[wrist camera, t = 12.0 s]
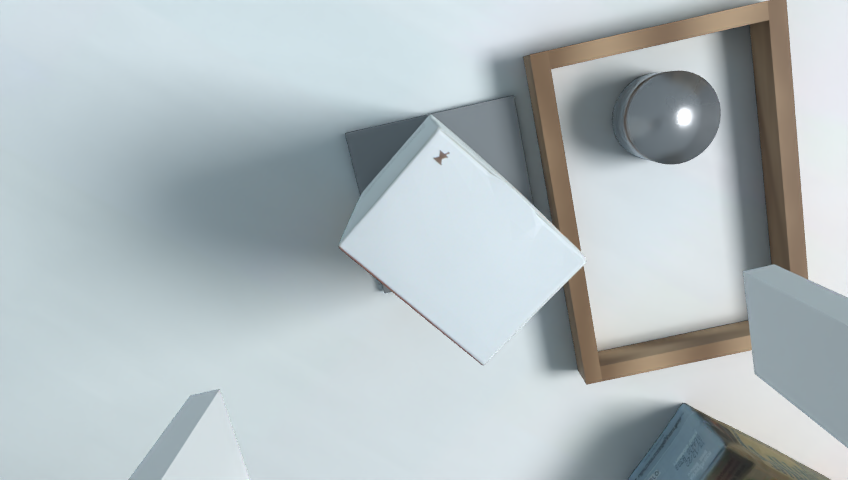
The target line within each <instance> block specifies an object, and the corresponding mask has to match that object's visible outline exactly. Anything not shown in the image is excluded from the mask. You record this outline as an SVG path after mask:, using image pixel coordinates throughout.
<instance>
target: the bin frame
mask: <svg viewBox="0 0 848 480" xmlns="http://www.w3.org/2000/svg"><path fill="white" fill-rule="evenodd" d="M749 24H750V35H751V46H752V57H753V68H754V79H755V89H756V100H757V111H758V122H759V133H760V144H761V155H762V166H763V177H764V188H765V198H766V209H767V220H768V231H769V242H770V253H771V264H772V265H773V264H775V265H777V266H779V267H781V268H784V269H786V270H788V271H790V272H792V273H795V274H797V275H799V276H801V277H803V278H805V279H808V271H807V258H806V246H805V233H804V220H803V207H802V194H801V181H800V168H799V156H798V143H797V130H796V117H795V104H794V91H793V79H792V66H791V53H790V40H789V27H788V14H787V2H786V0H769V1H764V2H760V3H755V4H751V5H747V6H742V7H738V8H733V9H729V10H725V11H720V12H716V13H711V14H707V15H702V16H698V17H694V18H689V19H685V20H680V21H676V22H672V23H667V24H663V25H658V26H654V27H650V28H645V29H641V30H636V31H632V32H627V33H623V34H619V35H614V36H610V37H605V38H601V39H597V40H592V41H588V42H583V43H579V44H575V45H570V46H566V47H561V48H557V49H552V50H548V51H544V52H539V53H535V54H530V55H527V56H524V57H523V58H524V64H525V70H526V75H527V81H528V87H529V93H530V98H531V104H532V110H533V115H534V121H535V127H536V133H537V138H538V144H539V150H540V155H541V161H542V167H543V173H544V178H545V184H546V190H547V196H548V201H549V207H550V213H551V218H552V224H553V225H554V226H555V227H556V228H557V229H558V230H559V231H560V232H561V233H562V234H563V235H564V236H565V237H566V238H567V239H568V240H569V241H570V242H571V243H572V244H574V245H575V246H576V247H577V248H578V249H579V250H580V251H581V248H580V242H579V236H578V230H577V224H576V218H575V212H574V206H573V200H572V194H571V188H570V182H569V176H568V170H567V164H566V158H565V152H564V146H563V140H562V134H561V128H560V122H559V116H558V109H557V103H556V97H555V91H554V85H553V79H552V73H551V69H554V68H558V67H563V66H567V65H572V64H576V63H581V62H585V61H589V60H594V59H598V58H603V57H607V56H612V55H616V54H621V53H625V52H629V51H634V50H638V49H643V48H647V47H652V46H656V45H660V44H665V43H669V42H674V41H678V40H683V39H687V38H691V37H696V36H700V35H705V34H709V33H714V32H718V31H722V30H727V29H731V28H736V27H740V26H745V25H749ZM563 287H564V293H565V298H566V304H567V310H568V316H569V321H570V327H571V333H572V338H573V344H574V350H575V356H576V361H577V367H578V371H579V373H580V374H581V376H582V378H583V379H584V381H585V383H586V384H591V383H596V382H601V381H606V380H611V379H615V378H620V377H625V376H630V375H635V374H639V373H644V372H649V371H654V370H659V369H663V368H668V367H673V366H678V365H683V364H687V363H692V362H697V361H702V360H707V359H711V358H716V357H721V356H726V355H731V354H735V353H740V352H745V351H750V350H752V346H751V337H750V329H749V320H747V321H742V322H737V323H733V324H728V325H723V326H718V327H714V328H709V329H704V330H699V331H695V332H690V333H685V334H680V335H675V336H671V337H666V338H661V339H656V340H652V341H647V342H642V343H637V344H633V345H628V346H623V347H618V348H613V349H609V350H604V351H599V352H598V351H597V345H596V339H595V333H594V327H593V321H592V315H591V309H590V303H589V297H588V291H587V285H586V278H585V272H584V266H583V267H581V268H580V269H579V270H578V271H577V272H576V273H575V274H574V275H573V276H572V277H571V278H570V279H569V280H568V281H567V282H566V283H565V284H564V285H563Z"/></svg>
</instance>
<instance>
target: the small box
mask: <svg viewBox="0 0 848 480" xmlns="http://www.w3.org/2000/svg"><path fill="white" fill-rule="evenodd" d="M339 248H340V249H341V250H342V251H343V252H344V253H345V254H347V255H348V256H349V257H350V258H352V259H353V260H354V261H355V262H356V263H358V264H359V265H360V266H361V267H362V268H364V269H365V270H366V271H367V272H369V273H370V274H371V275H372V276H373V277H375V278H376V279H377V280H378V281H380V282H381V283H382V284H383V285H385V286H386V287H387V288H388V289H389V290H391V291H392V292H393V293H394V294H395V295H397V296H398V297H399V298H400V299H402V300H403V301H404V302H405V303H407V304H408V305H409V306H410V307H411V308H413V309H414V310H415V311H416V312H417V313H419V314H420V315H421V316H422V317H424V318H425V319H426V320H427V321H428V322H430V323H431V324H432V325H433V326H434V327H436V328H437V329H438V330H440V331H441V332H442V333H443V334H444V335H446V336H447V337H448V338H449V339H451V340H452V341H453V342H454V343H456V344H457V345H458V346H459V347H461V348H462V349H463V350H464V351H465V352H467V353H468V354H469V355H470V356H471V357H473V358H474V359H475V360H476V361H478V362H479V363H480V364H481V365H485V364H486V363H487V362H488V361H489V360H490V359H491V358H492V357H493V356H494V355H495V354H496V353H497V352H498V351H499V350H500V349H501V348H502V347H503V346H504V345H505V344H506V343H507V342H508V341H509V340H510V339H511V338H512V337H513V336H514V335H515V334H516V333H517V332H518V331H519V330H520V329H521V328H522V327H523V326H524V325H525V324H526V323H527V322H528V321H529V320H530V319H531V318H532V317H533V316H534V315H535V314H536V313H537V312H538V311H539V310H540V309H541V308H542V307H543V305H544V304H545V303H546V302H547V301H548V300H549V299H550V298H551V297H552V296H553V295H554V294H555V293H556V292H557V291H558V290H559V289H560V288H561V287H562V286H563V285H564V284H565V283H566V282H567V281H568V280H569V279H570V278H571V277H572V276H573V275H574V274H575V273H576V272H577V271H578V270H579V269H580V268H581V267H583V266H584V265H585V264H586V262H587V260H586V257H585V256H584V255H583V253H582V252H581V251H580V250H579V249H578V248H577V247H576V246H575V245H574V244H572V243H571V242H570V241H569V240H568V239H567V238H566V237H565V236H564V235H563V234H562V233H561V232H560V231H559V230H558V229H557V228H556V227H555V226H554V225H553V224H552V223H551V222H550V221H549V220H548V219H547V218H546V217H545V216H544V215H543V214H542V213H541V212H540V211H539V210H538V209H537V208H535V207H534V206H533V205H532V204H531V203H530V202H529V201H528V200H527V199H526V198H525V197H524V196H523V195H522V194H521V193H520V192H519V191H518V190H517V189H516V188H515V187H514V186H513V185H511V184H510V183H509V182H508V181H507V180H506V179H505V178H504V177H503V176H502V175H500V174H499V173H498V172H497V171H496V170H495V169H494V168H493V167H492V166H490V165H489V164H488V163H487V162H486V161H485V160H484V159H483V158H481V157H480V156H479V155H478V154H477V153H476V152H475V151H474V150H473V149H471V148H470V147H469V146H468V145H467V144H466V143H465V142H463V141H462V140H461V139H460V138H459V137H458V136H457V135H455V134H454V133H453V132H452V131H451V130H450V129H448V128H447V127H446V126H445V125H444V124H442V123H441V122H440V121H439V120H438V119H436V118H435V117H434V116H433V115H429V116H428V117H427V118H426V119H425V121H424V122H423V123H422V124H421V125H420V126H419V127H418V129H417V130H416V131H415V132H414V133H413V134H412V136H411V137H410V138H409V139H408V140H407V141H406V143H405V144H404V145H403V146H402V147H401V148H400V149H399V151H398V152H397V153H396V154H395V155H394V156H393V157H392V159H391V160H390V161H389V162H388V163H387V164H386V165H385V167H384V168H383V169H382V170H381V171H380V172H379V174H378V175H377V176H376V177H375V178H374V179H373V180H372V182H371V183H370V184H369V185H368V186H367V187H366V189H365V190H364V191H363V192H362V194H361V196H360V198H359V200H358V202H357V204H356V206H355V209H354V211H353V213H352V216H351V217H350V220H349V222H348V224H347V226H346V229H345V231H344V233H343V235H342V238H341V240H340V243H339Z"/></svg>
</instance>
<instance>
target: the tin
mask: <svg viewBox="0 0 848 480" xmlns="http://www.w3.org/2000/svg"><path fill="white" fill-rule="evenodd" d="M720 116H721V110H720V103H719V100H718V97H717V94H716V92H715V91H714V89H713V88H712V86H711V85H710V84H709V83H708V82H707V81H706V80H705V79H703V78H702V77H700V76H698V75H696V74H694V73H691V72H686V71H670V72H660V73H652V74H647V75H644V76H641V77H639V78H637V79H635V80H634V81H632V82H631V83H630V84H629V85H627V86H626V87H625V89H624V90H623V91H622V92H621V94H620V95H619V97H618V99H617V101H616V103H615V106H614V110H613V116H612V123H613V130H614V133H615V136H616V138H617V140H618V142H619V143H620V144H621V146H622V147H623V148H624V149H625V150H626V151H628V152H629V153H631V154H632V155H634V156H637V157H640V158H643V159H647V160H651V161H655V162H658V163H662V164H679V163H683V162H686V161H689V160H691V159H693V158H695V157H697V156H698V155H699V154H701V153H702V152H703V151H704V150H705V149H706V148H707V147H708V146H709V145H710V143H711V142H712V140H713V139H714V137H715V135H716V133H717V130H718V128H719V123H720Z"/></svg>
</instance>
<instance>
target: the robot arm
mask: <svg viewBox="0 0 848 480" xmlns="http://www.w3.org/2000/svg"><path fill="white" fill-rule="evenodd" d="M743 277H744V285H745V294H746V303H747V311H748V320H749V329H750V337H751V346H752V355H753V363H754V372H755V374H756V375H757V376H758V377H759V378H761V379H762V380H763V381H764V382H766V383H767V384H768V385H770V386H771V387H772V388H773V389H775V390H776V391H777V392H778V393H780V394H781V395H782V396H783V397H785V398H786V399H787V400H788V401H790V402H791V403H792V404H793V405H795V406H796V407H797V408H798V409H800V410H801V411H802V412H803V413H805V414H806V415H807V416H808V417H810V418H811V419H812V420H813V421H815V422H816V423H817V424H818V425H820V426H821V427H822V428H823V429H825V430H826V431H827V432H828V433H830V434H831V435H832V436H833V437H835V438H836V439H837V440H838V441H840V442H841V443H842V444H843V445H845V446H846V447H847V448H848V298H847V297H845V296H843V295H841V294H838V293H836V292H834V291H832V290H830V289H827V288H825V287H823V286H821V285H819V284H816V283H814V282H812V281H810V280H808V279H805V278H803V277H801V276H799V275H797V274H795V273H792V272H790V271H788V270H786V269H784V268H781V267H779V266H777V265H775V264H773V265H769V266H764V267H760V268H755V269H751V270H746V271H743ZM129 480H250V477H249V474H248V471H247V468H246V465H245V462H244V459H243V456H242V453H241V450H240V447H239V444H238V441H237V438H236V435H235V432H234V429H233V426H232V423H231V420H230V418H229V415H228V412H227V409H226V406H225V403H224V400H223V397H222V394H221V391H220V389H218V390H213V391H209V392H204V393H200V394H195V395H191V396H190V397H189V398H188V399H187V401H186V402H185V403H184V405H183V406H182V408H181V409H180V410H179V412H178V413H177V414H176V416H175V417H174V418H173V420H172V421H171V423H170V424H169V425H168V427H167V428H166V429H165V431H164V432H163V433H162V435H161V436H160V437H159V439H158V440H157V442H156V443H155V444H154V446H153V447H152V448H151V450H150V451H149V452H148V454H147V455H146V457H145V458H144V459H143V461H142V462H141V463H140V465H139V466H138V467H137V469H136V470H135V472H134V473H133V474H132V476H131V477H130V478H129Z"/></svg>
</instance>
